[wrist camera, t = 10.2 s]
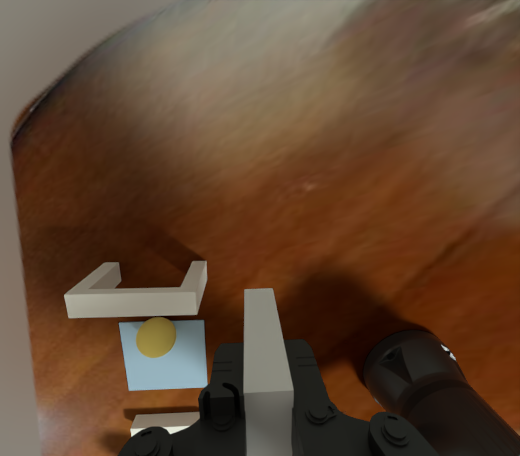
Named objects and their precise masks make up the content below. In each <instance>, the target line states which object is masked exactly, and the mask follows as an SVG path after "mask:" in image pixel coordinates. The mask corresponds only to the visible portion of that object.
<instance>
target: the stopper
mask: <svg viewBox="0 0 520 456" xmlns="http://www.w3.org/2000/svg"><path fill="white" fill-rule="evenodd" d="M199 418H200V413H199V412H185V413H165V414H144V415H136V417H135V419H134V422H133V424H132V427H131V435H132V436H133V435H135V434H136V433H138V432H139V431H141V430H143V429H145V428H148V427H152V426H160V427H162V428H165V429H167V430H168V432H169V433H170V434H172V433H175V432H178V431H180V430H183V429H185V428H187V427H189V426H191V425H192V424H194V423H195V422H196V421H197V420H198V419H199Z"/></svg>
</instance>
